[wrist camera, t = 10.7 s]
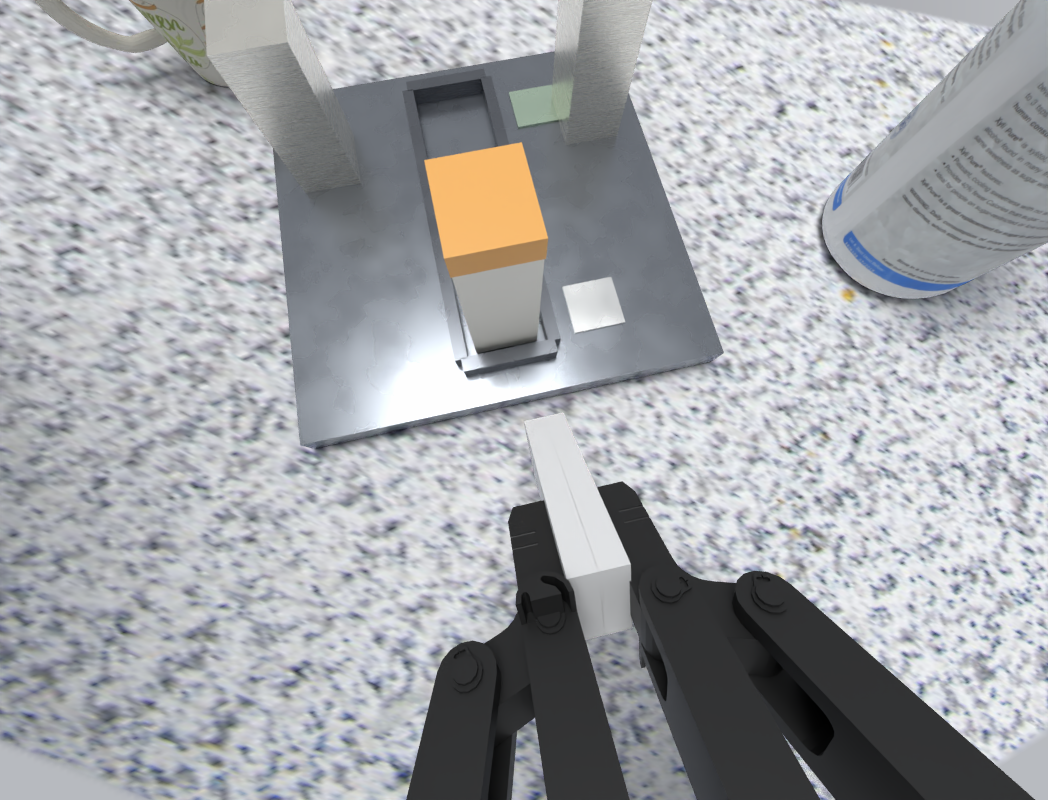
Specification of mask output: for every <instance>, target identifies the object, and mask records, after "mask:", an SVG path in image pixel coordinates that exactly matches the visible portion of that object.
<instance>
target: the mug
mask: <svg viewBox="0 0 1048 800" xmlns="http://www.w3.org/2000/svg"><path fill="white" fill-rule="evenodd" d="M34 1H35V2H36V3H37V4H38V5H39V6H40V7H41V8H42V9H43V10H44V11H45V12H46V13H47V14H48V15H49V16H50V17H51V18H53V19H54V20H55V21H56V22H58V23H59V24H60V25H62V26H63V27H65V28H66V29H68V30H69V31H71V32H73V33H74V34H76V35H78V36H80V37H82V38H83V39H86V40H88V41H90V42H92V43H95V44H98V45H101V46H105V47H108V48H112V49H116V50H120V51H124V52H131V53H138V52H144V51H148V50H151V49H154V48H156V47H159V46H161V45H163V44H165V43H166V42H169V44H170V45H171V46H172V47H173V48H174V49H175V50H176V51H177V52H178V53H179V54H180V55H181V56H182V57H183V59H184V60H185V61H186V62H187V63H188V64H189V65H190V66H191V67H192V68H193V69H194V70H195V71H196V72H197V73H198V74H199V75H200V76H201V77H202V78H203V79H205V80H206V81H208V82H210V83H212V84H215V85H219V86H227V87H229V86H228V84H227V83H226V82H225V80H224V79H223V77H222V76H221V75H220V73H219V72H218V71H217V69H216V68H215V66H214V65H213V64H212V62H211V61H210V59H209V58H208V57H207V51H206V29H205V8H204V0H129V1H130V2H131V3H132V4H133V5H134V6H135V7H136V8H137V9H138V10H139V11H140V12H141V14H142V15H143V16H144V17H145V18H146V19H147V20H148V21H149V22H150V23H151V24H152V25H153V26H154V27H155V29H150V30H147V31H144V32H141V33H138V34H135V35H132V36H123V35H119V34H116V33H112V32H110V31H107V30H105V29H103V28H100V27H98V26H96V25H94V24H92V23H91V22H89V21H87V20H86V19H84V18H82V17H81V16H79V15H78V14H76V13H75V12H74V11H73V10H71V9H70V8H69V7H68V6H67V5H65V4H64V3H63V2H62V1H61V0H34Z"/></svg>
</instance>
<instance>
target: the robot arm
mask: <svg viewBox="0 0 1048 800" xmlns="http://www.w3.org/2000/svg"><path fill="white" fill-rule="evenodd" d="M524 424H525V429H526V434H527V440H528V445H529V450H530V455H531V460H532V465H533V471H534V476H535V480H536V484H537V488H538V491H539V495H540V499H541V501H539V502H534V503H530V504H525V505H521V506H517V507H513V508H512V511H511V515H510V518H509V521H508V524H509V531H510V537H511V544H512V550H513V558H514V564H515V571H516V578H517V584H518V591H517V593H516V608H517V611H518V612H517V614H516V616H515V618H514V620H513V622H512V623H511V624H510V625H509V627H508V628H506V629H505V630H504V631H503V632H501V633H500V634H499V635H497V636H495V637H494V638H492V639H491V640H489V641H488V642H486V643H484V644H483V643H480V642H476V641H469V642H464V643H461V644H459V645H457V646H456V647H454V648H453V649H451V650H450V651H449V653H448V654H447V655H446V656H445V657H444V659H443V660H442V662H441V665H440V667H439V670H438V672H437V676H436V680H435V684H434V688H433V692H432V696H431V700H430V704H429V709H428V713H427V717H426V721H425V725H424V729H423V733H422V737H421V741H420V746H419V750H418V754H417V758H416V762H415V766H414V770H413V774H412V778H411V783H410V787H409V791H408V795H407V799H406V800H511V798H512V786H513V774H514V761H515V749H516V737H517V730H519V729H520V728H521V727H523V726H524V725H525V724H527V723H528V722H529V721H531V720H532V719H533V718H535V719H536V726H537V733H538V740H539V746H540V753H541V760H542V767H543V774H544V780H545V787H546V794H547V800H629V796H628V792H627V789H626V785H625V782H624V778H623V774H622V771H621V767H620V764H619V760H618V756H617V753H616V749H615V746H614V742H613V738H612V735H611V731H610V728H609V724H608V720H607V717H606V713H605V710H604V706H603V702H602V699H601V695H600V692H599V688H598V684H597V681H596V677H595V674H594V670H593V666H592V663H591V659H590V656H589V652H588V648H587V645H586V641H585V640H589V639H593V638H597V637H601V636H605V635H609V634H613V633H617V632H621V631H625V630H630V629H632V620H633V623H634V625H635V628H636V630H637V633H638V635H639V658H640V664H641V668H644V667H645V664H646V667H647V670H648V672H649V675H650V678H651V680H652V683H653V685H654V688H655V691H656V693H657V696H658V699H659V701H660V704H661V706H662V709H663V712H664V714H665V717H666V720H667V722H668V725H669V727H670V730H671V733H672V735H673V738H674V740H675V743H676V746H677V748H678V751H679V754H680V756H681V759H682V761H683V764H684V767H685V769H686V772H687V775H688V777H689V780H690V782H691V785H692V788H693V790H694V793H695V796H696V798H697V800H820V798H819V797H818V795H817V793H816V792H815V790H814V788H813V786H812V785H811V783H810V781H809V779H808V778H807V776H806V774H805V772H804V771H803V769H802V767H801V766H800V764H799V762H798V760H797V759H796V757H795V755H794V753H793V752H792V750H791V748H790V746H789V745H788V743H787V741H786V740H785V738H786V739H787V740H788V741H789V742H790V744H791V745H792V746H793V747H794V749H795V750H796V751H797V752H798V754H799V755H800V756H801V757H802V759H803V760H804V761H805V762H806V764H807V765H808V766H809V767H810V769H811V770H812V771H813V772H814V773H815V775H816V776H817V777H818V778H819V780H820V781H821V782H822V783H823V785H824V786H825V787H826V788H827V790H828V791H829V792H830V793H831V795H832V796H833V797H834V798H835V800H1035V799H1033V798H1032V797H1031V796H1030V795H1029V794H1028V793H1027V792H1026V791H1024V790H1023V789H1022V788H1021V787H1020V786H1019V785H1018V784H1017V783H1015V782H1014V781H1013V780H1012V779H1011V778H1010V777H1008V775H1006V774H1005V773H1004V772H1003V771H1002V770H1001V769H1000V768H998V767H997V766H996V765H995V764H994V763H993V762H992V761H991V760H989V759H988V758H987V757H986V756H985V755H984V754H983V753H981V752H980V751H979V750H978V749H977V748H976V747H975V746H974V745H972V744H971V743H970V742H969V741H968V740H967V739H966V738H964V737H963V736H962V735H961V734H960V733H959V732H958V731H957V730H955V729H954V728H953V727H952V726H951V725H950V724H949V723H947V722H946V721H945V720H944V719H943V718H942V717H941V716H939V715H938V714H937V713H936V712H935V711H934V710H933V709H932V708H930V707H929V706H928V705H927V704H926V703H925V702H924V701H922V700H921V699H920V698H919V697H918V696H917V695H916V694H915V693H913V692H912V691H911V690H910V689H909V688H908V687H907V686H905V685H904V684H903V683H902V682H901V681H900V680H899V679H898V678H896V677H895V676H894V675H893V674H892V673H891V672H890V671H888V670H887V669H886V668H885V667H884V666H883V665H882V664H881V663H879V662H878V661H877V660H876V659H875V658H874V657H873V656H871V655H870V654H869V653H868V652H867V651H866V650H865V649H864V648H862V647H861V646H860V645H859V644H858V643H857V642H856V641H854V640H853V639H852V638H851V637H850V636H849V635H848V634H846V633H845V632H844V631H843V630H842V629H841V628H840V627H839V626H837V625H836V624H835V623H834V622H833V621H832V620H831V619H829V618H828V617H827V616H826V615H825V614H824V613H823V612H822V611H820V610H819V609H818V608H817V607H816V606H815V605H814V604H812V603H811V602H810V601H809V600H808V599H807V598H806V597H805V596H803V595H802V594H801V593H800V592H799V591H798V590H797V589H795V588H794V587H793V586H792V585H791V584H789V583H788V582H786V581H785V580H784V579H782V578H781V577H779V576H776V575H774V574H771V573H768V572H762V571H752V572H748V573H745V574H743V575H742V576H741V577H740V578H739V579H738V580H737V583H727V582H714V581H707V580H701V579H699V578H696V577H693V576H691V575H690V574H688V573H686V572H685V571H683V570H682V569H681V568H680V567H679V566H678V565H677V564H676V562H675V561H674V560H673V558H672V557H671V555H670V553H669V551H668V549H667V548H666V546H665V544H664V542H663V540H662V539H661V537H660V535H659V533H658V531H657V530H656V528H655V526H654V524H653V522H652V521H651V519H650V518H649V515H648V514H647V512H646V510H645V508H644V507H643V505H642V503H641V501H640V499H639V497H638V496H637V494H636V492H635V491H634V490H633V489H631V488H630V487H629V486H628V485H626V484H625V483H624V482H618V483H613V484H609V485H605V486H600V487H596V485H595V482H594V480H593V478H592V476H591V473H590V471H589V469H588V467H587V464H586V462H585V460H584V458H583V455H582V453H581V451H580V449H579V446H578V444H577V442H576V440H575V437H574V435H573V433H572V431H571V428H570V426H569V424H568V422H567V419H566V417H565V415H564V413H558V414H554V415H549V416H545V417H540V418H535V419H531V420H526V421H524ZM783 735H784V736H785V738H784V736H783Z"/></svg>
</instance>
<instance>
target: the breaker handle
mask: <svg viewBox="0 0 1048 800" xmlns="http://www.w3.org/2000/svg"><path fill="white" fill-rule="evenodd" d="M424 161H425V166H426V171H427V176H428V181H429V186H430V191H431V196H432V201H433V206H434V211H435V216H436V221H437V226H438V231H439V236H440V241H441V246H442V251H443V256H444V260H445V263H446V266H447V269H448V272H449V275H450V278H452V279H453V282H454V285H455V289H456V292H457V295H458V298H459V301H460V304H461V307H462V310H463V313H464V316H465V319H466V322H467V325H468V328H469V332H470V335H471V338H472V341H473V344H474V347H475V350H476V353H481V352H486V351H490V350H495V349H500V348H505V347H509V346H514V345H519V344H523V343H528V342H533V341H537V336H538V325H539V314H540V303H541V292H542V281H543V270H544V259H546V256H547V245H548V236H547V232H546V228H545V225H544V221H543V217H542V214H541V210H540V207H539V203H538V199H537V196H536V192H535V188H534V185H533V181H532V177H531V174H530V170H529V167H528V163H527V159H526V156H525V152H524V148H523V145H522V142H521V143H516V144H510V145H505V146H499V147H494V148H488V149H483V150H477V151H472V152H466V153H461V154H455V155H450V156H444V157H439V158H433V159H428V160H424Z"/></svg>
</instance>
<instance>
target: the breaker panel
mask: <svg viewBox="0 0 1048 800" xmlns="http://www.w3.org/2000/svg"><path fill="white" fill-rule="evenodd" d="M651 4H652V0H558V13H557V27H556V41H555V52H549V53H543V54H537V55H531V56H526V57H520V58H514V59H508V60H502V61H496V62H490V63H484V64H479V65H473V66H467V67H461V68H455V69H449V70H443V71H438V72H432V73H426V74H420V75H414V76H408V77H402V78H396V79H391V80H385V81H379V82H373V83H367V84H361V85H355V86H349V87H344V88H338V89H332V87H331V85H330V83H329V81H328V79H327V76H326V74H325V72H324V70H323V68H322V66H321V64H320V62H319V59H318V57H317V55H316V53H315V51H314V49H313V47H312V44H311V42H310V40H309V38H308V36H307V34H306V32H305V30H304V27H303V25H302V23H301V21H300V19H299V17H298V15H297V12H296V10H295V8H294V6H293V4H292V2H291V0H204V8H205V29H206V51H207V57H208V58H209V59H210V61H211V62H212V64H213V65H214V66H215V68H216V69H217V71H218V72H219V73H220V75H221V76H222V77H223V79H224V80H225V82H226V83H227V84H228V86H229V87H230V89H231V90H232V91H233V93H234V94H235V96H236V97H237V98H238V100H239V101H240V103H241V104H242V105H243V107H244V108H245V110H246V111H247V112H248V114H249V115H250V116H251V118H252V119H253V121H254V122H255V123H256V125H257V126H258V128H259V129H260V130H261V132H262V133H263V135H264V136H265V137H266V139H267V140H268V142H269V143H270V144H271V146H272V147H273V153H274V164H275V175H276V186H277V197H278V208H279V219H280V230H281V241H282V251H283V262H284V273H285V284H286V295H287V306H288V317H289V328H290V339H291V349H292V360H293V371H294V382H295V393H296V404H297V415H298V426H299V437H300V445H301V446H306V447H310V448H314V449H315V448H320V447H324V446H329V445H333V444H338V443H342V442H347V441H351V440H356V439H361V438H365V437H370V436H374V435H379V434H383V433H388V432H392V431H397V430H402V429H406V428H411V427H415V426H420V425H424V424H429V423H433V422H438V421H443V420H447V419H452V418H456V417H461V416H465V415H470V414H474V413H479V412H484V411H488V410H493V409H497V408H502V407H506V406H511V405H515V404H520V403H525V402H529V401H534V400H538V399H543V398H547V397H552V396H556V395H561V394H566V393H570V392H575V391H579V390H584V389H588V388H593V387H597V386H602V385H607V384H611V383H616V382H620V381H625V380H629V379H634V378H638V377H643V376H648V375H652V374H657V373H661V372H666V371H670V370H675V369H679V368H684V367H688V366H693V365H698V364H702V363H707V362H711V361H713V360H714V359H716V358H717V357H718V356H720V355H721V354H723V353H724V352H723V349H722V346H721V344H720V341H719V338H718V335H717V333H716V330H715V327H714V325H713V322H712V319H711V316H710V314H709V311H708V308H707V305H706V303H705V300H704V297H703V295H702V292H701V289H700V286H699V284H698V281H697V278H696V276H695V273H694V270H693V267H692V265H691V262H690V259H689V256H688V254H687V251H686V248H685V246H684V243H683V240H682V237H681V235H680V232H679V229H678V227H677V224H676V221H675V218H674V216H673V213H672V210H671V207H670V205H669V202H668V199H667V197H666V194H665V191H664V188H663V186H662V183H661V180H660V177H659V175H658V172H657V169H656V167H655V164H654V161H653V158H652V156H651V153H650V150H649V148H648V145H647V142H646V139H645V137H644V134H643V131H642V128H641V126H640V123H639V120H638V118H637V115H636V112H635V109H634V107H633V104H632V101H631V99H630V96H629V93H628V92H629V88H630V84H631V81H632V77H633V73H634V69H635V65H636V61H637V58H638V54H639V50H640V46H641V42H642V38H643V35H644V31H645V27H646V23H647V19H648V16H649V12H650V8H651ZM521 142H522V145H523V148H524V152H525V156H526V159H527V163H528V167H529V170H530V174H531V177H532V181H533V185H534V188H535V192H536V196H537V199H538V203H539V207H540V210H541V214H542V217H543V221H544V225H545V228H546V232H547V236H548V245H547V256H546V259H544V270H543V281H542V292H541V303H540V314H539V325H538V336H537V341H533V342H528V343H523V344H519V345H514V346H509V347H505V348H500V349H495V350H490V351H486V352H481V353H476V350H475V347H474V344H473V341H472V338H471V335H470V332H469V328H468V325H467V322H466V319H465V316H464V313H463V310H462V307H461V304H460V301H459V298H458V295H457V292H456V289H455V285H454V282H453V279H452V278H450V275H449V272H448V269H447V266H446V263H445V260H444V256H443V251H442V246H441V241H440V236H439V231H438V226H437V221H436V216H435V211H434V206H433V201H432V196H431V191H430V186H429V181H428V176H427V171H426V166H425V161H424V160H428V159H433V158H439V157H444V156H450V155H455V154H461V153H466V152H472V151H477V150H483V149H488V148H494V147H499V146H505V145H510V144H516V143H521Z"/></svg>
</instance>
